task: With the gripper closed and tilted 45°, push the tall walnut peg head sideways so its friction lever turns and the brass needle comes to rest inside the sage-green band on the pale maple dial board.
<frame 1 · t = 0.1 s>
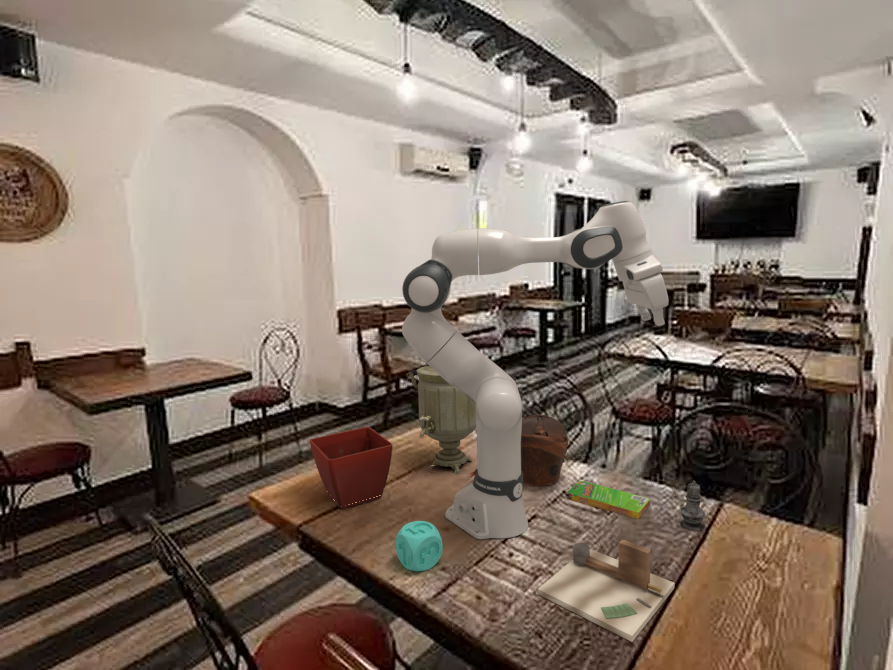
hand: (653, 322, 124), 52 cm above the table, tool tilted 20°, fingers open, 8 cm apart
game box: (607, 503, 145), on the table
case: (539, 478, 161), on the table
dial board: (606, 591, 107), on the table
tuning lever: (615, 556, 109), point 6 cm above the table, hinge at 0.0°
plant pot: (353, 496, 153), on the table
chess piece: (692, 525, 131), on the table
samovar: (443, 467, 172), on the table
decorative dice: (419, 562, 119), on the table
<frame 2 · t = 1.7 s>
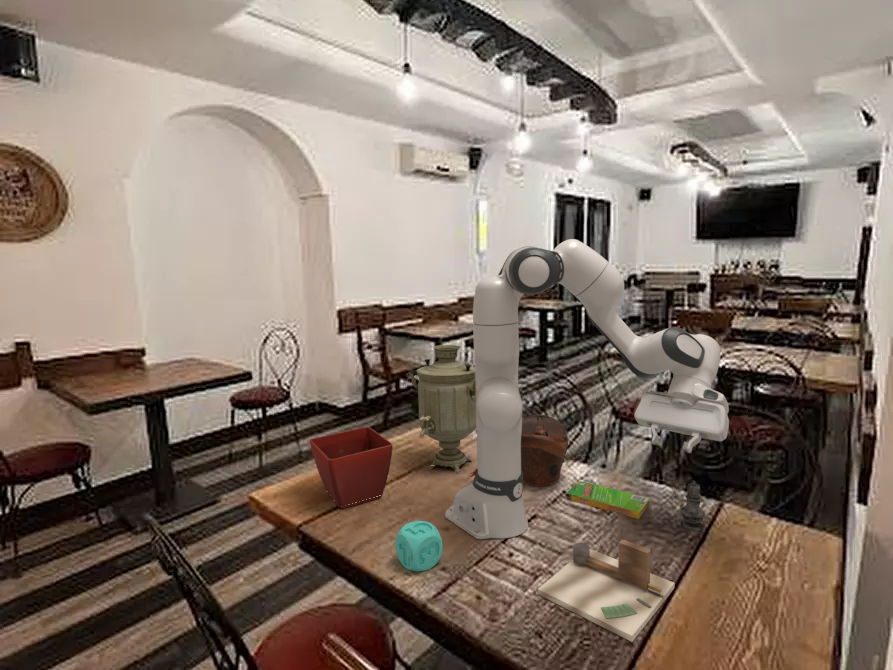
hand: (670, 447, 118), 24 cm above the table, tool tilted 45°, fingers open, 5 cm apart
nothing on the table moved.
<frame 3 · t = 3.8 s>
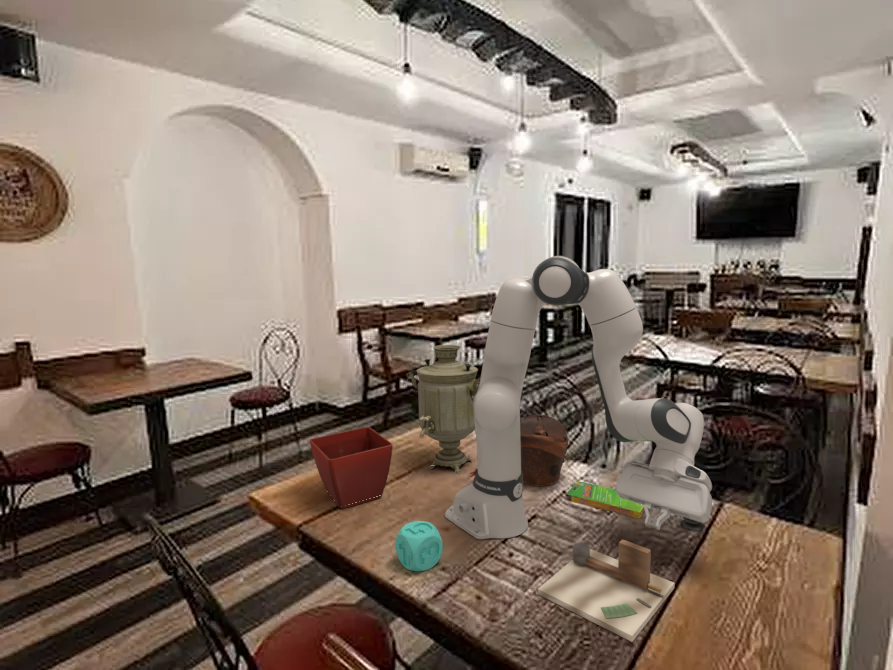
hand: (651, 526, 114), 9 cm above the table, tool tilted 45°, fingers closed
nothing on the table moved.
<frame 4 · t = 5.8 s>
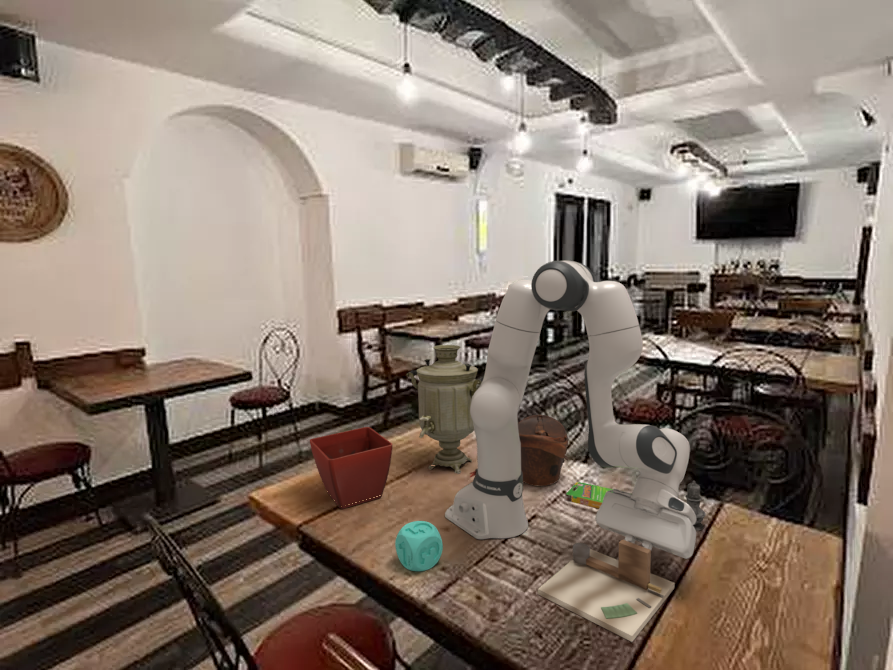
hand: (632, 561, 108), 5 cm above the table, tool tilted 45°, fingers closed, pressing on tuning lever
tuning lever: (615, 556, 109), point 6 cm above the table, hinge at -0.1°, touching gripper
everything else where it was.
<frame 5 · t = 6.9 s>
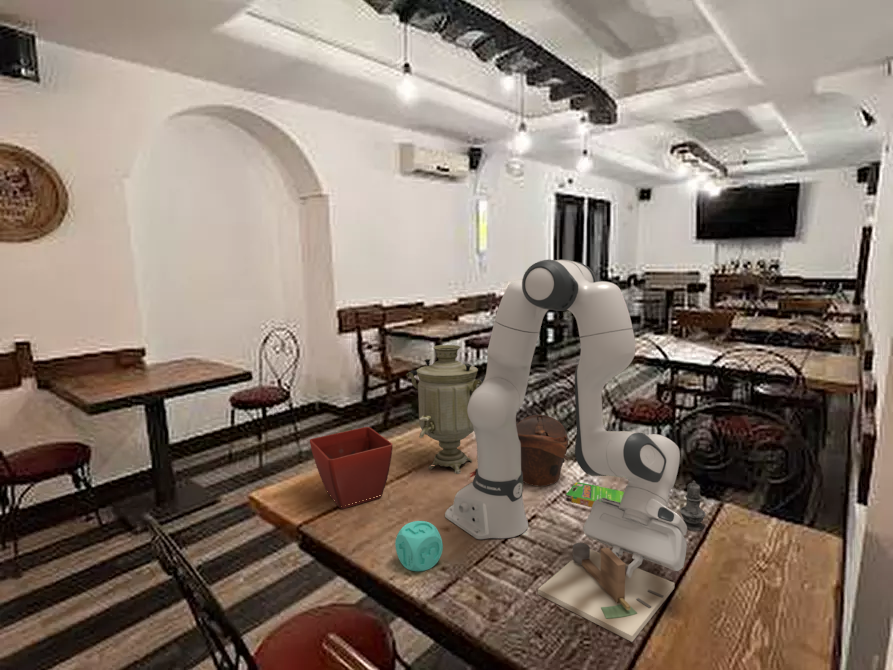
hand: (621, 574, 104), 5 cm above the table, tool tilted 45°, fingers closed
tuning lever: (600, 563, 107), point 6 cm above the table, hinge at -30.9°, touching gripper
everything else where it was.
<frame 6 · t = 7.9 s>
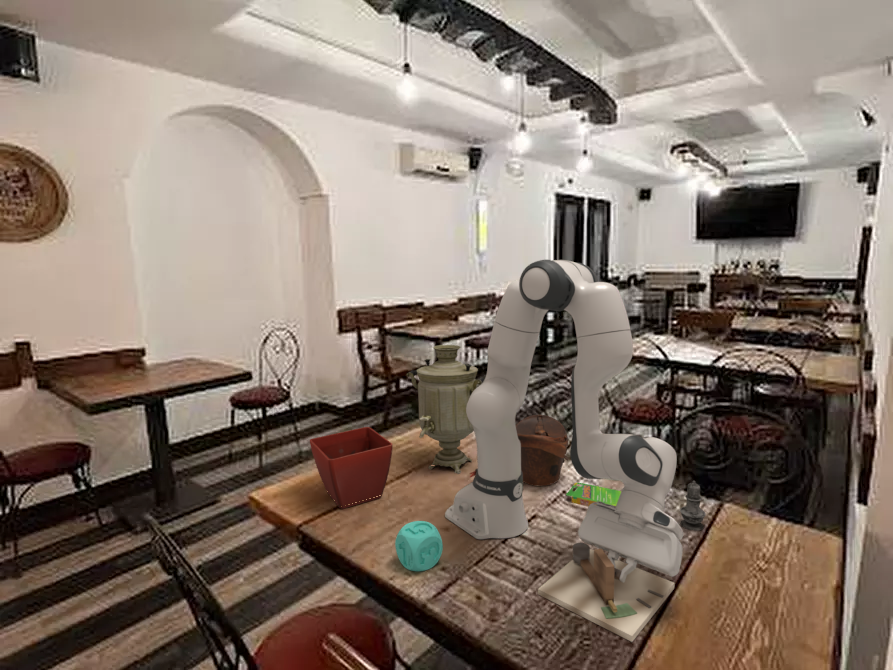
hand: (615, 579, 102), 5 cm above the table, tool tilted 45°, fingers closed
tuning lever: (595, 563, 106), point 6 cm above the table, hinge at -39.8°, touching gripper
everything else where it was.
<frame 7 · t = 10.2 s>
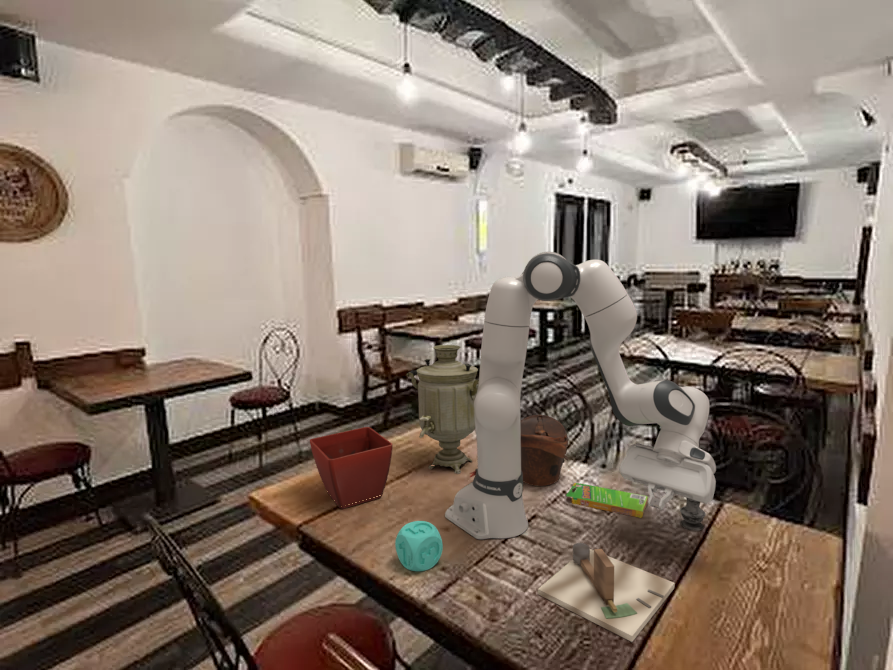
hand: (654, 506, 114), 13 cm above the table, tool tilted 45°, fingers closed
tuning lever: (595, 563, 106), point 6 cm above the table, hinge at -39.8°
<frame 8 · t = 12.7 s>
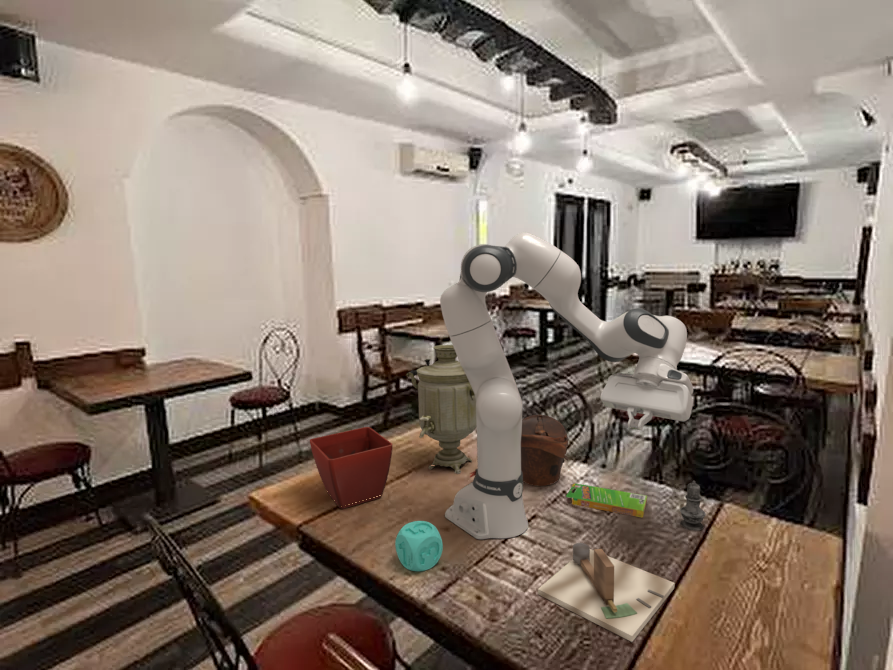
hand: (634, 428, 117), 29 cm above the table, tool tilted 45°, fingers closed
at the end: tuning lever at -40° (first picture: +0°); chess piece moved 0.2 cm from its start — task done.
